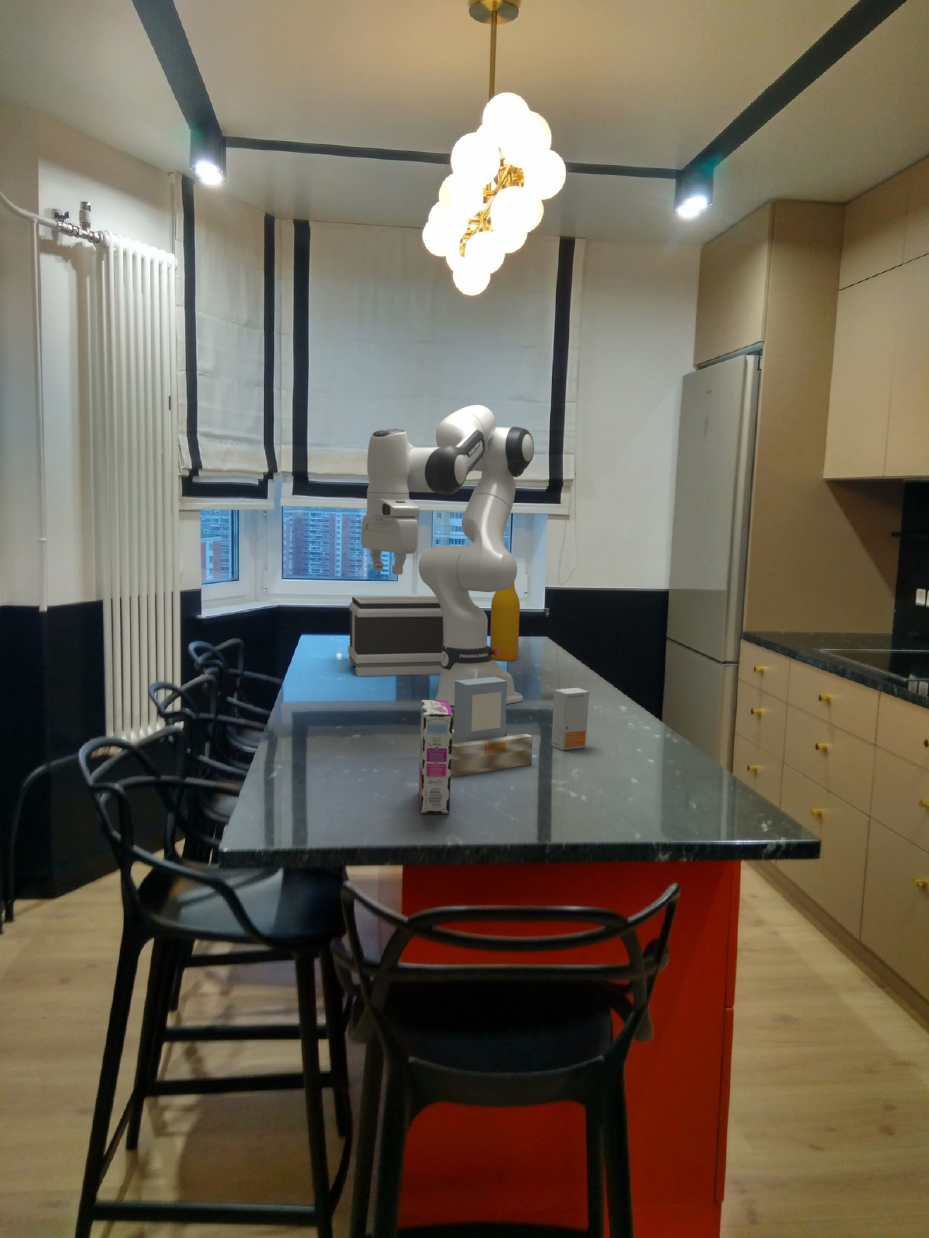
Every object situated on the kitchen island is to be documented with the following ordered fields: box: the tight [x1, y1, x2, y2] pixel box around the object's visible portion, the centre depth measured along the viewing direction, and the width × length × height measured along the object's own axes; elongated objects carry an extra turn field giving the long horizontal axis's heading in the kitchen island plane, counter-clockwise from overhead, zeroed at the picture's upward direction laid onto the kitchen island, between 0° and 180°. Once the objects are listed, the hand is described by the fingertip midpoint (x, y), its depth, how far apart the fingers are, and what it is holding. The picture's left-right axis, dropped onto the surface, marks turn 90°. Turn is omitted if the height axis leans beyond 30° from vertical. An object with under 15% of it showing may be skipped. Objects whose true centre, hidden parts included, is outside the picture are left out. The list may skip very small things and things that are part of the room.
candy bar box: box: [418, 699, 454, 815], centre depth 142 cm, size 11×5×16 cm, turn 5°
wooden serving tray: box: [451, 725, 533, 777], centre depth 166 cm, size 17×11×6 cm, turn 120°
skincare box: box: [551, 687, 590, 751], centre depth 178 cm, size 6×4×12 cm
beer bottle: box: [489, 582, 521, 662], centre depth 276 cm, size 9×9×29 cm
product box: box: [453, 677, 507, 744], centre depth 165 cm, size 5×9×13 cm, turn 120°
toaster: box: [347, 596, 443, 677], centre depth 255 cm, size 18×34×21 cm, turn 105°
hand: (387, 572), depth 184 cm, fingers open, 8 cm apart
